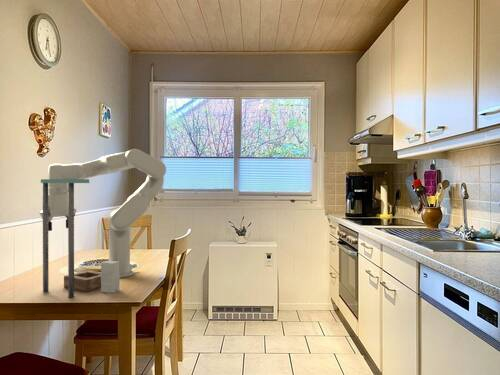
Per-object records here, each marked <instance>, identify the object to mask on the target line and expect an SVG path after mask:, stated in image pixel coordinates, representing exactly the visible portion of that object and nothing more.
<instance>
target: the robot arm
mask: <svg viewBox="0 0 500 375" xmlns="http://www.w3.org/2000/svg"><path fill="white" fill-rule="evenodd" d="M133 168H134V169H137V170H138V171H140V172H143V173H145V174H146V179H145V181H144V182H143V183H142V184H141V185H140V186H139V187H138V188H137V189H136V190H135V191H134V192H133V193H132V194H130V195H129V196H128V197H127V199H126V201H125V202H124V203H123V204H122V205H121V206H120V207H119V208H116V209H114V210H112V211H111V212H110V214H109V215H108V221H107V222H108V261H119V278H122V279H123V278H128V277H131V276H133V275H134V271H133V269H136V268H138V265H137V263H134V264H132V263H131V261H130V260H131V248H130V247H131V234H130V233H131V230H130V228H131V226H133V225H134V224H135V223H136V222H137V220H139V218H141V216H143V214H144V213H146V211H147V210H148V208H149V204H150V203H151V202H152V200H153V199H154V198H155V197H156V196H157V195H158V194H159V193H160V191H161V190H162V188H163V186H164V180H165V178H164V176H165V175H166V173H167V167H166V165H165V163H164V162H163V161H162V160H159V159H158V158H156V157H155V156H154V157H153V156H152V155H150V154H148V153H146V152H144V151H142V150H141V149H138V148H132V149H129V150H127V151H123V152H118V153H117V152H116V153H114V154H109V155H105V156H104V155H103V156H101V157H100V158H98V159H95V160H92V161H86V162H84V163H70V164H63V163H52V164H50V165H49V166H48V179H89V178H93V177H97V176H103V175H109V174H115V173H118V172H121V171H122V172H123V171H126V170H130V169H133ZM76 213H77V209H75V208H74V217H76ZM39 215H40V217H41V219H42V220H43V210H41V211H40V212H39ZM58 217H60V218H61V217H65V218H66V219H65V228H66V229H68V183H48V232H50V231H53V222H52V220H53V218H58Z"/></svg>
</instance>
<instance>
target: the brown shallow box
mask: <svg viewBox="0 0 500 375" xmlns="http://www.w3.org/2000/svg"><path fill="white" fill-rule="evenodd" d="M63 288H64V289H67V290H68V274H67V275H66V274H65V275H63ZM96 290H101V271H95V270H84V271H80V272H76V273H75V272H74V291H77V292H78V291H79V292H81V293H90V292H92V291H96Z"/></svg>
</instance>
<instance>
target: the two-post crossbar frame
mask: <svg viewBox="0 0 500 375" xmlns="http://www.w3.org/2000/svg"><path fill="white" fill-rule="evenodd" d="M40 183H41V184H42V211H43V219H42V293H48V292H49V287H50V286H49V284H50V283H49V231H48V195H49V183H68V228H67V230H68V231H67V232H68V233H67V236H68V237H67V238H68V239H67V242H68V243H67V244H68V247H67V248H68V249H67V251H68V252H67V254H68V265H67V266H68V267H67V269H68V270H67V271H68V273H67V275H68V289H67V290H68V292H67V293H68V294H67V295H68V297H67V298H69V299H74V298H75V290H74V274H75V216H74V209H75V184H90V179H89V178H86V179H49V178H47V179H45V178H43V179H40Z"/></svg>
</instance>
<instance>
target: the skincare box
mask: <svg viewBox="0 0 500 375" xmlns="http://www.w3.org/2000/svg"><path fill="white" fill-rule="evenodd" d="M100 272H101V288H100V291H101V293H108V294H109V293H110V294H114V293H116V292H118V291H120V288H121V287H120V278H119V261H109V260H106V261H102V262H100Z"/></svg>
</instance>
